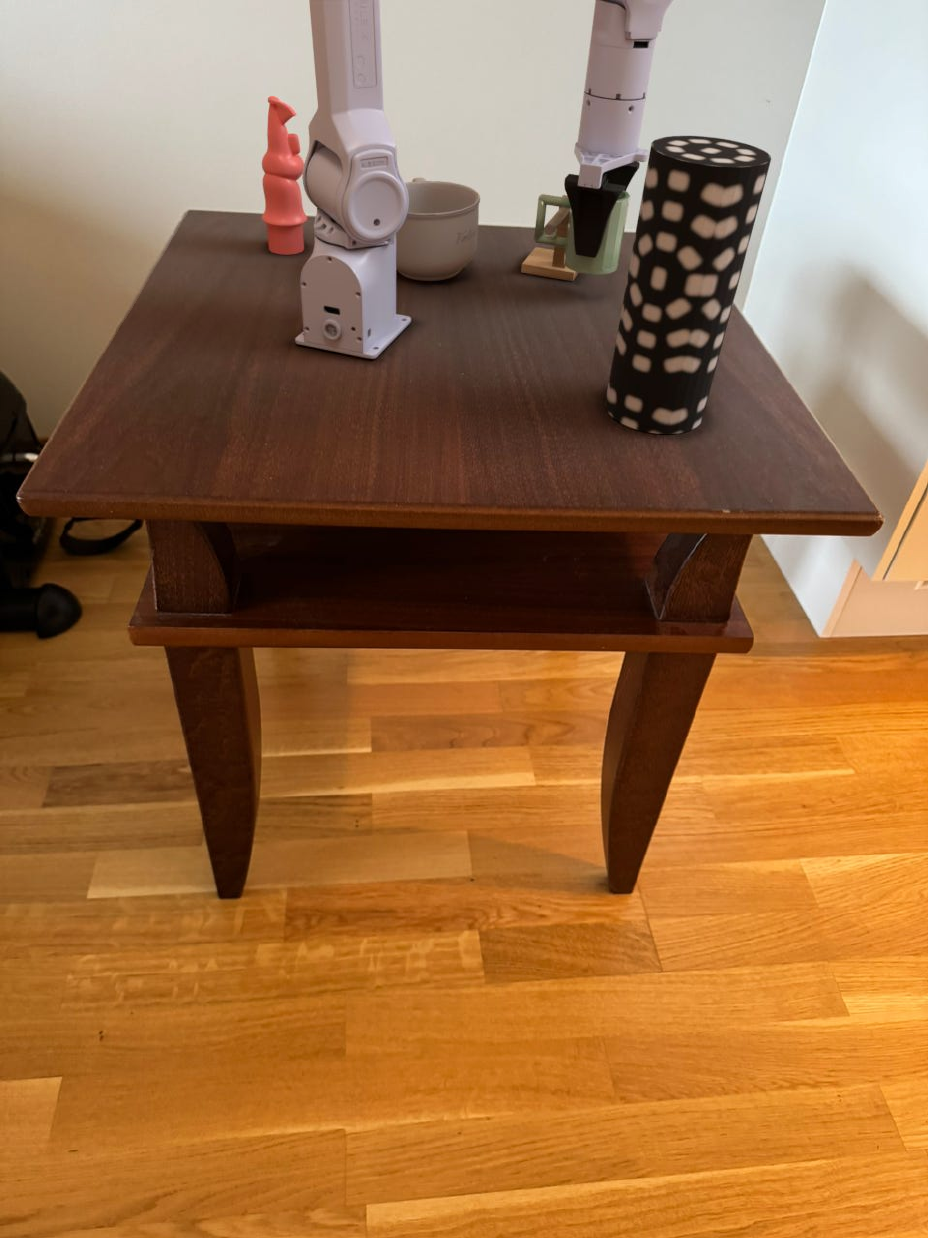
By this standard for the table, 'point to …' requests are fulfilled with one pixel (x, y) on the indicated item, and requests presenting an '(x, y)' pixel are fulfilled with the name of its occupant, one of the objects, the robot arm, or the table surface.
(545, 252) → the mug stand
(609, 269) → the mug
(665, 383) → the spotted tube
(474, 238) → the teacup
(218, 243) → the table surface
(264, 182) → the figurine
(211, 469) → the table surface
